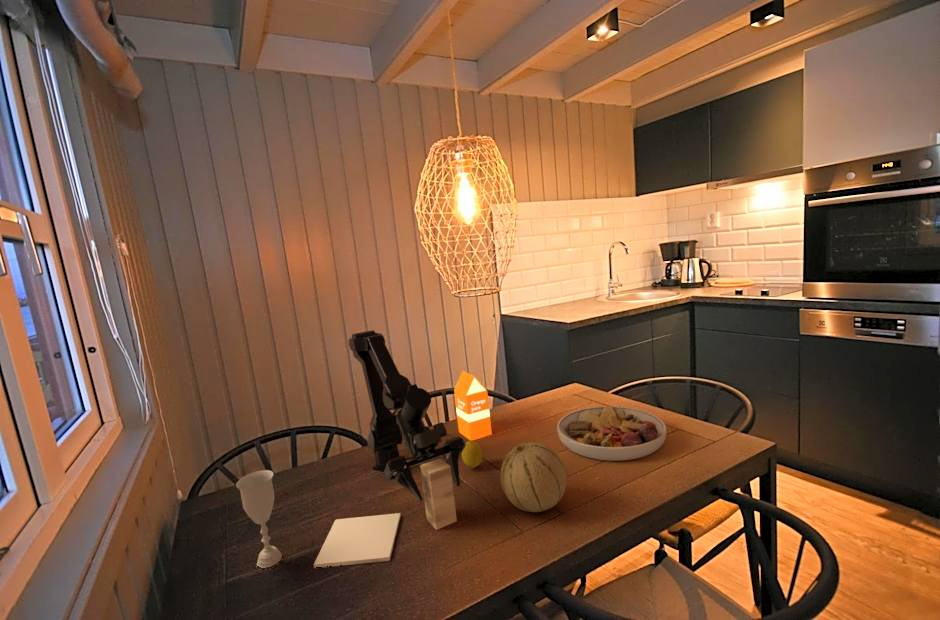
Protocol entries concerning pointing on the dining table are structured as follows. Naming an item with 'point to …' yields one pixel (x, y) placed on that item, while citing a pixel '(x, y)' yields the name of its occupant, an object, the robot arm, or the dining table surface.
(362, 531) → the tile
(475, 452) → the lemon
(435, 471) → the wood block
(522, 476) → the cantaloupe
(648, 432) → the bowl
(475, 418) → the orange juice
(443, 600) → the dining table surface
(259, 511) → the chalice
